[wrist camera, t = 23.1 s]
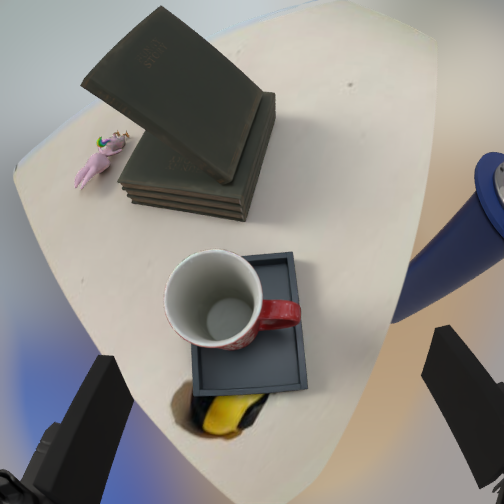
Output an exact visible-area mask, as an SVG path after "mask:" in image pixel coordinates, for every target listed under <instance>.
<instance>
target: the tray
mask: <svg viewBox="0 0 504 504" xmlns="http://www.w3.org/2000/svg"><path fill="white" fill-rule="evenodd" d="M241 257H242V258H244V259H245V260H246V261H247V262H249V263H250V265H251V266H252V267H253V268H254V270H255V271H256V273H257V275H258V277H259V279H260V282H261V285H262V292H263V300H287V301H292V302H295V303H297V304H299V298H298V289H297V281H296V273H295V265H294V258H293V252H284V253H272V254H261V255H250V256H241ZM191 355H192V377H193V394H194V396H228V395H248V394H263V393H275V392H285V391H295V390H304V389H308V384H307V373H306V363H305V353H304V343H303V333H302V324H301V320H300V322H299V324H298V325H296V326H293V327H289V328H283V329H274V330H263V331H259V332H258V334H257V336H256V337H255V339H254V340H253V341H252V342H251V343H250V344H249V345H247V346H246V347H244V348H241V349H238V350H224V349H220V348H206V347H200V346H197V345H194V344H192V343H191Z"/></svg>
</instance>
